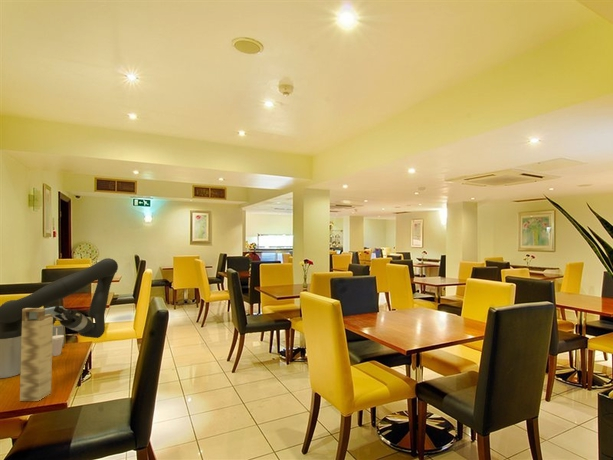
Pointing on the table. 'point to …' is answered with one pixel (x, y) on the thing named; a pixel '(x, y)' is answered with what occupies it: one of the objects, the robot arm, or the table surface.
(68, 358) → the table surface
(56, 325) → the soap bottle
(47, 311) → the bar
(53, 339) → the smoothie
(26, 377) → the tall patterned tan block
